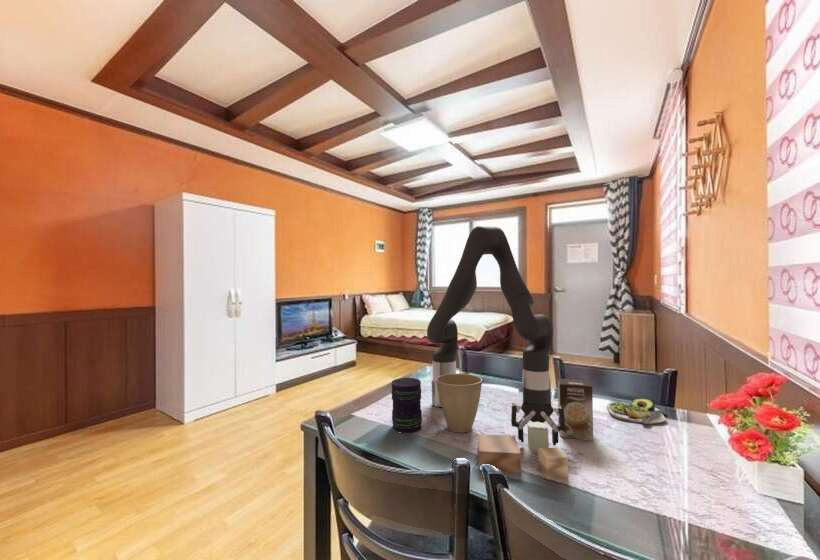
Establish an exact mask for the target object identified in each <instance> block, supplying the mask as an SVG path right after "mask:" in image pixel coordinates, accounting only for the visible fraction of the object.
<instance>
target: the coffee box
mask: <svg viewBox="0 0 820 560" xmlns="http://www.w3.org/2000/svg"><path fill="white" fill-rule="evenodd" d="M557 401H558V402H557V407H558V406H561V407H562V408H563V410H564V418H565V428H566V429H565V430H564V431H563V430H561V431H559V432H558V434H559V437H561V438H569V439H576V440H582V441H583V440H584V441H592V442H593V441H594V416H593V415H594V413H593V411H594V409H593V408H594V407H593V406H594V405H593V386H592V384H591V382H589V380H581V379H580V380H578V379H567V378H557ZM557 417H558V416H557ZM557 419H558V424H559V417H558V418H557ZM558 424H557V425H558Z"/></svg>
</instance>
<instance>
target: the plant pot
mask: <svg viewBox="0 0 820 560" xmlns="http://www.w3.org/2000/svg"><path fill="white" fill-rule="evenodd" d="M436 383H437V389H438V395H439V399H440V403H441V407H442V408H441V410H442V413H443V416H444V419H445V423H446V425H447V427H448V429H449V430H450V431H451V432H453V433H459V434H460V433H461V434H462V433H468V432H470V431H471V430H472V429H473V426H474V422H475V420H476V416H477V413H478V409H479V404H480V399H481V393H482V386H483V385H482V383H483V379H482V377H480V376H478V375H474V374H470V373H468V374H467V373H456V374H446V375H441V376H439V377H437V378H436Z"/></svg>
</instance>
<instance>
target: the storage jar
mask: <svg viewBox="0 0 820 560" xmlns="http://www.w3.org/2000/svg"><path fill="white" fill-rule="evenodd" d="M421 382H422V381H421V380H420V379H417V378H413V377H402V378H401V377H400V378H397V379H393V380H392V381H391V400H392V412H391V421H392V430H393V429H394V430H395V431H397V432H396V433H398V432H401V433H400V434H402V433H410V434H415V433H418V432H419V430H420V431H421V430H422V427H423V426H422V423H423V422H422V420H423V416H422V415H423V414H422V409H421V404H422V403H421V400H422V385H421V384H422V383H421ZM394 430H393V431H394ZM395 431H394V432H395Z"/></svg>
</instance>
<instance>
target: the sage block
mask: <svg viewBox="0 0 820 560" xmlns="http://www.w3.org/2000/svg"><path fill="white" fill-rule="evenodd" d="M526 425H527V444H528V449H529V452H534V453H535V452H536V453H537V452H538V453H539V449H538V448H550V443H549V430H548V426H547V424H546V423H541V422H530V421H529V422H528V423H527V424H526Z"/></svg>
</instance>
